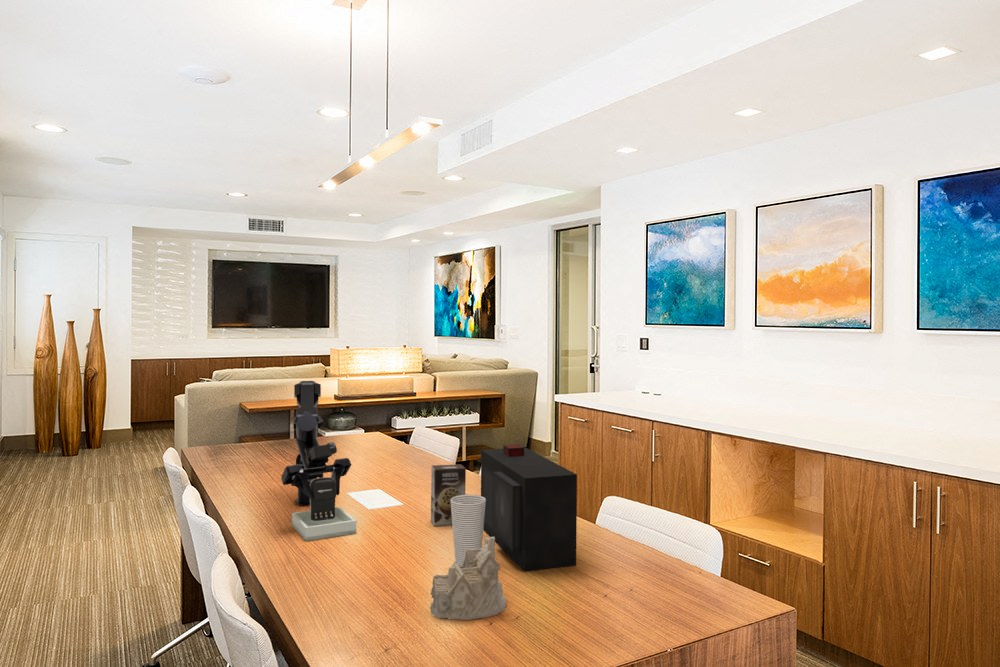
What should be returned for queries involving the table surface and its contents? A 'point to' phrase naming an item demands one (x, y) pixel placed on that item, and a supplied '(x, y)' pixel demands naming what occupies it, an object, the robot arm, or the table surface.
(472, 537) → the cup
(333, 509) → the battery charger
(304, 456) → the robot arm
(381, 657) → the table surface
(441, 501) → the coffee box
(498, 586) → the ceramic cottage
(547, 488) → the speaker
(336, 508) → the tray
